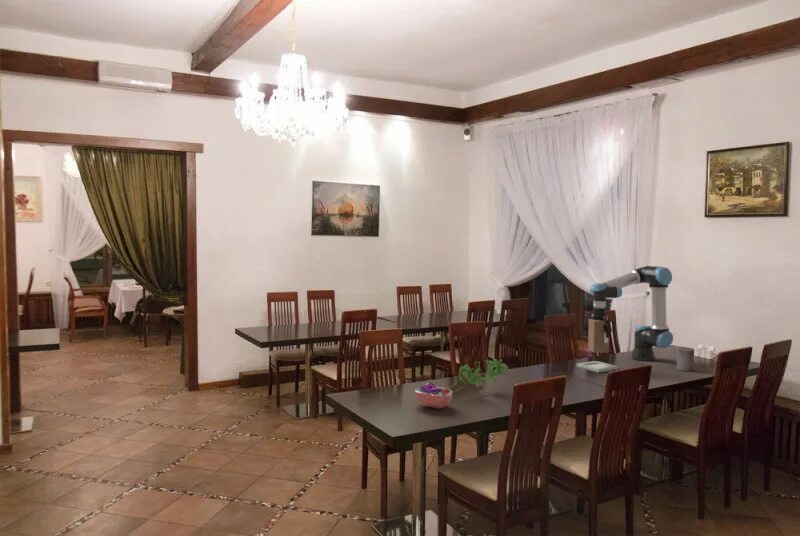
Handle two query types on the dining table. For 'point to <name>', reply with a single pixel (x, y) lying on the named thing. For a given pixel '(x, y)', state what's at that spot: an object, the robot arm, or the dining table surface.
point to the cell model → (433, 396)
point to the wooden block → (597, 337)
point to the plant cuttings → (473, 377)
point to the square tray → (597, 366)
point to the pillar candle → (685, 359)
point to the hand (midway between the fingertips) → (598, 341)
